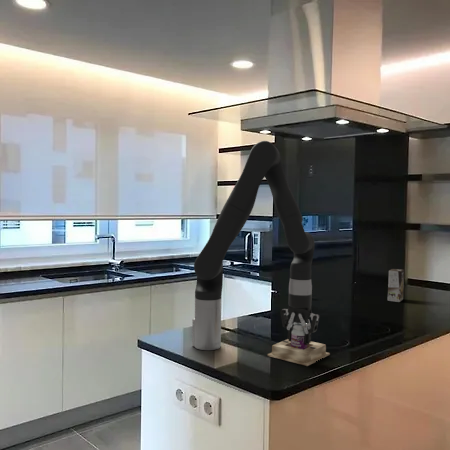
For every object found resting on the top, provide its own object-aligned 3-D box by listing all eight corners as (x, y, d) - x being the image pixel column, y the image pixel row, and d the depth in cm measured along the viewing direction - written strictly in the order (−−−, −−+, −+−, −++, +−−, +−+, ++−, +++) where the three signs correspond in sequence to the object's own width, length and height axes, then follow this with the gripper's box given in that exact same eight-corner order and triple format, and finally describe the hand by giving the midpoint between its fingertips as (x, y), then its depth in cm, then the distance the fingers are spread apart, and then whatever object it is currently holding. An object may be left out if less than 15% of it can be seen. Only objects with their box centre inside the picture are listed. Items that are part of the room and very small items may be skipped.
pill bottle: (288, 354, 163) (289, 325, 162) (292, 349, 168) (293, 321, 167) (305, 356, 161) (305, 327, 160) (308, 351, 166) (309, 323, 165)
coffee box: (400, 302, 255) (401, 271, 254) (387, 300, 258) (388, 270, 257) (403, 299, 263) (404, 269, 262) (391, 298, 266) (392, 268, 265)
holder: (267, 356, 163) (267, 344, 163) (291, 346, 175) (291, 335, 175) (307, 366, 154) (307, 354, 153) (329, 354, 165) (330, 343, 165)
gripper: (325, 293, 162) (323, 344, 162) (287, 288, 171) (286, 336, 171) (314, 296, 156) (312, 349, 157) (275, 290, 165) (274, 340, 166)
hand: (298, 342), depth 164 cm, fingers closed on pill bottle, 5 cm apart
